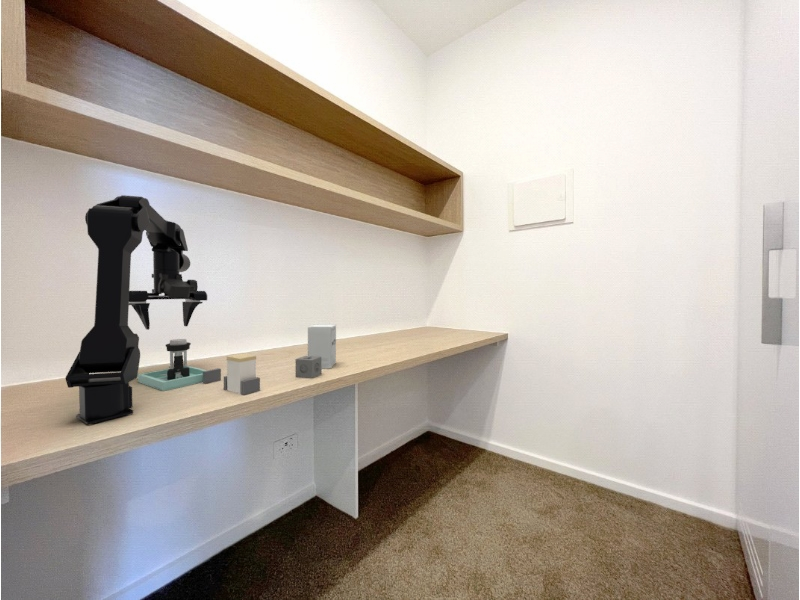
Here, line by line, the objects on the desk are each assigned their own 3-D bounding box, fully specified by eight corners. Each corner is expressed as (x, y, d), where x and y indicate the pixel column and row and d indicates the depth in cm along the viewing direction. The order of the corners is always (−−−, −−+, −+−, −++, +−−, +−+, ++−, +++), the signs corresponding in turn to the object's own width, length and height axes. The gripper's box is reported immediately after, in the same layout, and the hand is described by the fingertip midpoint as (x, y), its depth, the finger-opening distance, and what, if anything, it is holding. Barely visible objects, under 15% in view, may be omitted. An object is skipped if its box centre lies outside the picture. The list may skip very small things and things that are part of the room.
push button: (158, 383, 80) (157, 342, 80) (160, 378, 84) (160, 339, 84) (190, 379, 83) (190, 340, 83) (191, 375, 88) (190, 338, 88)
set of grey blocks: (243, 395, 73) (243, 381, 73) (202, 383, 82) (202, 371, 82) (259, 390, 76) (259, 377, 76) (218, 379, 86) (218, 368, 85)
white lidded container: (239, 394, 74) (239, 358, 74) (226, 390, 76) (226, 356, 76) (256, 389, 77) (256, 355, 77) (243, 386, 80) (243, 353, 80)
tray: (163, 391, 76) (162, 382, 76) (137, 382, 83) (137, 374, 83) (213, 379, 86) (213, 372, 85) (187, 372, 93) (187, 365, 93)
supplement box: (331, 368, 98) (331, 326, 98) (306, 368, 98) (306, 326, 98) (336, 363, 105) (336, 324, 105) (313, 363, 105) (313, 324, 105)
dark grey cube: (295, 377, 88) (295, 359, 88) (305, 373, 93) (305, 355, 93) (312, 378, 87) (312, 360, 87) (321, 374, 92) (321, 356, 92)
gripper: (137, 267, 77) (139, 333, 77) (217, 271, 93) (218, 326, 93) (118, 268, 83) (120, 330, 83) (197, 272, 98) (197, 324, 99)
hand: (167, 327), depth 89 cm, fingers open, 9 cm apart
